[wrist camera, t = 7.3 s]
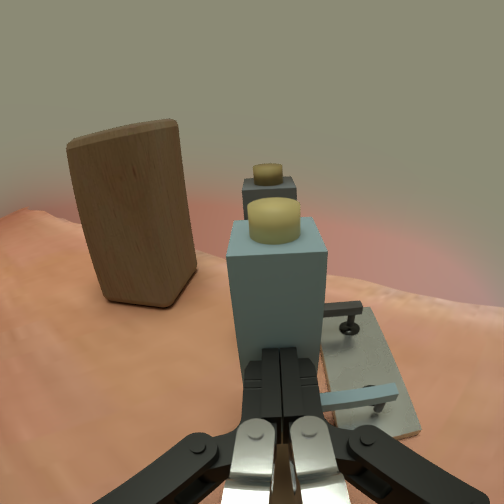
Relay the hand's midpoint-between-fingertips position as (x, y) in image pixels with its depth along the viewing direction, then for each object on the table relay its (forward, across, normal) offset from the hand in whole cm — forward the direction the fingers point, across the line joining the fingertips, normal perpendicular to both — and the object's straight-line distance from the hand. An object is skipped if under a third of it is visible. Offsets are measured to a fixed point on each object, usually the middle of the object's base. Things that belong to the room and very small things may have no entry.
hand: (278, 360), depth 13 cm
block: (+22, +15, +10) cm, 28 cm away
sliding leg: (+2, -3, +8) cm, 9 cm away
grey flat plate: (+7, -7, +10) cm, 14 cm away
